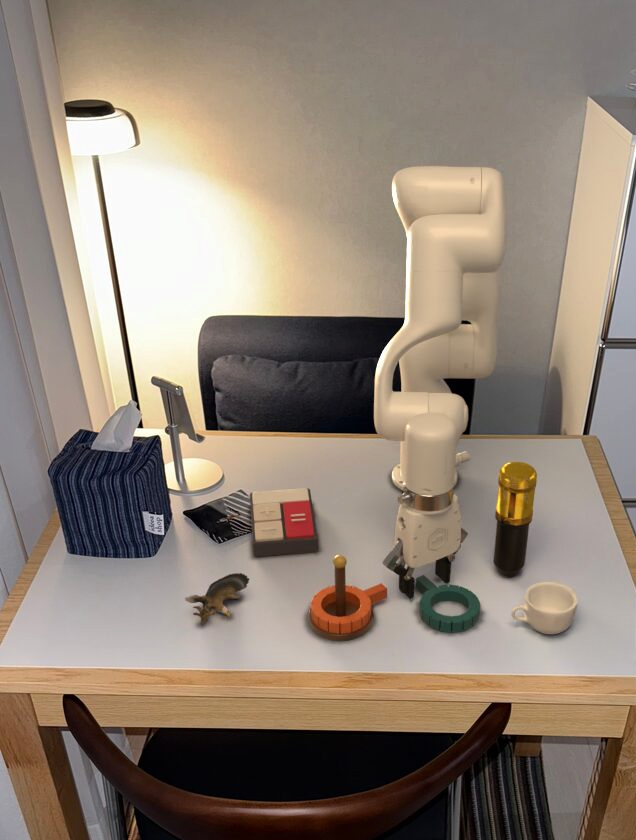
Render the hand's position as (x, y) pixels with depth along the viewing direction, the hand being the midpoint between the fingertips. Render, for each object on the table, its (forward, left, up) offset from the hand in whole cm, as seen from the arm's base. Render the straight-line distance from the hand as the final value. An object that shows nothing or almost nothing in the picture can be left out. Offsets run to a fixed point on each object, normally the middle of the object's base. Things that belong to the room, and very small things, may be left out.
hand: (424, 585), depth 146 cm
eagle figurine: (+30, -13, -1) cm, 33 cm away
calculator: (+11, -27, -1) cm, 30 cm away
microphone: (-18, +5, -1) cm, 19 cm away
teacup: (-10, +17, -1) cm, 19 cm away
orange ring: (+13, -1, 0) cm, 13 cm away
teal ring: (0, +5, -1) cm, 5 cm away
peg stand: (+15, -1, -1) cm, 15 cm away
